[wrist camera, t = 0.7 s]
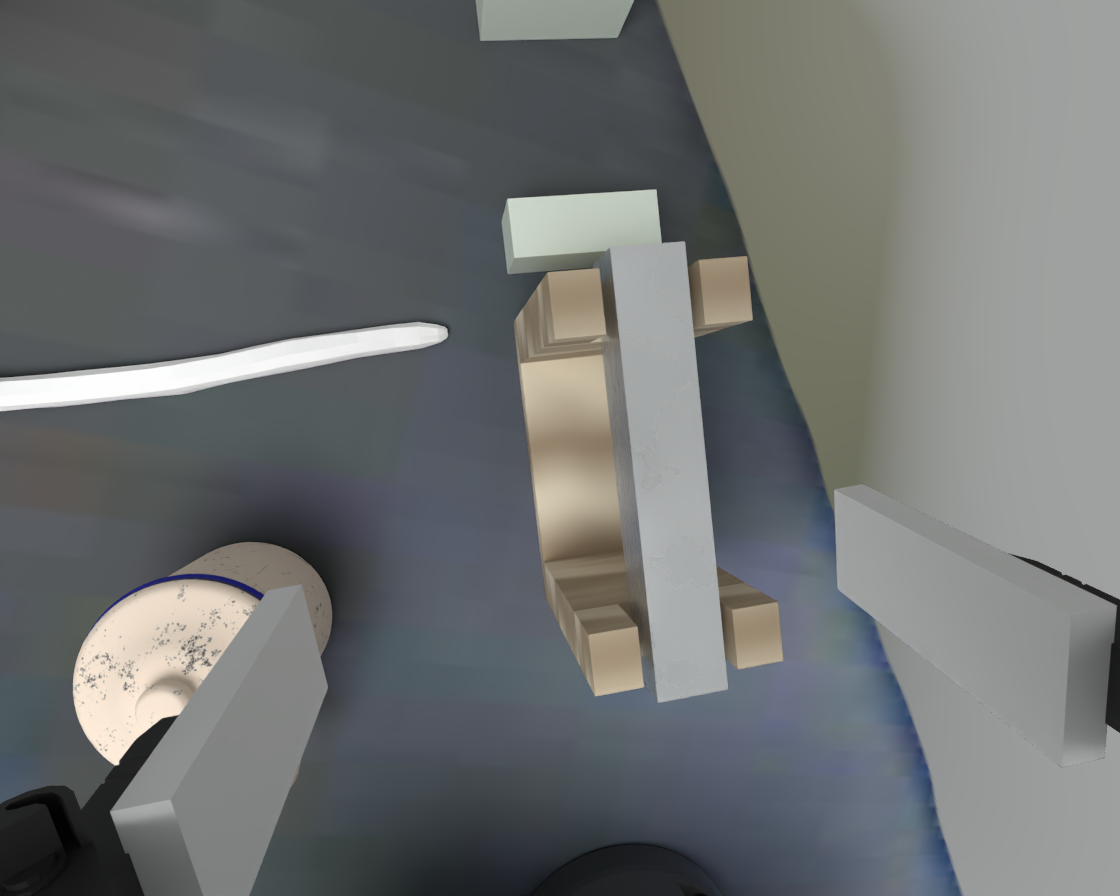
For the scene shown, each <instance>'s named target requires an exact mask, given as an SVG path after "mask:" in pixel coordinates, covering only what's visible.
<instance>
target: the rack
mask: <svg viewBox="0 0 1120 896" xmlns="http://www.w3.org/2000/svg"><path fill="white" fill-rule="evenodd" d="M687 268H688V278H689V289H690V299H691V309H692V320H693V330H694V338H695V337H699V336H702V335H705V334H708V333H712V332H715V331H718V330H722V329H725V328H728V327H731V326H735V325H738V324H741V323H744V322H748V321H751V320H753V318H752V306H751V295H750V284H749V273H748V262H747V256H743V257H730V258H718V259H706V260H698V261H697V262H695V263H693V264H692V265H690V266H688V267H687ZM513 324H514V333H515V341H516V350H517V358H518V367H519V375H520V384H521V392H522V401H523V409H524V418H525V426H526V435H527V443H528V452H529V461H530V469H531V478H532V486H533V495H534V503H535V512H536V520H537V529H538V537H539V546H540V554H541V563H542V571H543V580H544V588H545V597H546V600H547V602H548V604H549V606H550V608H551V610H552V612H553V614H554V616H555V618H556V620H557V622H558V624H559V626H560V628H561V630H562V632H563V634H564V636H565V638H566V640H567V642H568V644H569V646H570V648H571V650H572V652H573V653H574V655H575V657H576V659H577V661H578V663H579V665H580V667H581V669H582V671H583V673H584V675H585V677H586V679H587V681H588V683H589V685H590V687H591V689H592V691H593V693H594V695H595V696H601V695H606V694H611V693H617V692H622V691H627V690H632V689H638V688H643V687H644V683H643V673H642V664H641V655H640V645H639V636H638V627H637V625H636V624H635V623H634V622H633V621H632V619H631V616H630V607H629V598H628V588H627V579H626V570H625V560H624V551H623V542H622V532H621V523H620V514H619V505H618V495H617V486H616V477H615V467H614V458H613V449H612V439H611V430H610V421H609V411H608V402H607V393H606V383H605V374H604V365H603V355H602V346H601V337H602V336H604V335H606V326H605V317H604V308H603V298H602V289H601V280H600V270H599V268H595V269H582V270H570V271H558V272H547V274H546V275H545V277H544V278H543V280H542V281H541V282H540V284H539V285H538V287H537V288H536V290H535V291H534V293H533V294H532V296H531V297H530V298H529V300H528V301H527V303H526V304H525V306H524V307H523V309H522V310H521V312H520V313H519V315H518V316H517V317H516V319H515V320H514V322H513ZM716 569H717V579H718V589H719V600H720V610H721V620H722V631H723V641H724V652H725V658H726V659H727V660H728V661H729V662H730V663H731V664H732V665H734V666H735V667H736V668H737V669H743V668H748V667H753V666H758V665H764V664H769V663H774V662H779V661H783V653H782V642H781V630H780V619H779V608H778V602H777V601H776V600H774V599H772V598H770V597H769V596H767V595H765V594H763V593H762V592H760V591H758V590H757V589H755V588H753V587H751V586H750V585H748V584H746V583H745V582H743V581H741V580H739V579H738V578H736V577H734V576H733V575H731V574H729V573H727V572H726V571H724V570H722V569H721V568H719V567H717V566H716Z"/></svg>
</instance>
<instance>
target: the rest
mask: <svg viewBox="0 0 1120 896" xmlns="http://www.w3.org/2000/svg"><path fill="white" fill-rule="evenodd" d="M633 2H634V0H476V9H477V17H478V26H479V34H480V41H499V40H543V39H588V38H618V35H619V33H620V31H621V29H622V26H623V24H624V22H625V20H626V17H627V15H628V13H629V11H630V8H631V6H632V4H633ZM501 222H502V230H503V239H504V247H505V256H506V264H507V273H508V274H518V273H530V272H543V271H555V270H567V269H580V268H592V267H593V264H594V263H595V262H596V261H597V260H598V259H599V258H600V257H601V256H602V255H603V254H604V253H605V252H606V251H607V250H608V249H609V248H610V247H618V246H631V245H644V244H657V243H662V241H661V231H660V221H659V211H658V201H657V191H656V190H641V191H625V192H608V193H592V194H576V195H560V196H544V197H528V198H512V199H507V202H506V206H505V210H504V214H503V218H502V221H501Z"/></svg>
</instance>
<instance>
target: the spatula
mask: <svg viewBox="0 0 1120 896" xmlns="http://www.w3.org/2000/svg"><path fill="white" fill-rule="evenodd" d="M447 337H448V331H447V328H446V327H444V326H441V325H437V324H429V323H422V322H413V323H403V324H394V325H386V326H379V327H372V328H364V329H357V330H350V331H343V332H336V333H329V334H322V335H315V336H308V337H300V338H293V339H287V340H282V341H277V342H272V343H267V344H262V345H257V346H253V347H248V348H244V349H240V350H235V351H231V352H226V353H222V354H217V355H210V356H203V357H196V358H189V359H182V360H175V361H167V362H159V363H152V364H143V365H133V366H123V367H113V368H102V369H92V370H81V371H72V372H63V373H54V374H44V375H31V376H19V377H7V378H0V411H8V410H18V409H28V408H44V407H61V406H71V405H81V404H90V403H98V402H106V401H115V400H123V399H133V398H145V397H157V396H168V395H178V394H186V393H190V392H194V391H198V390H202V389H206V388H210V387H214V386H218V385H222V384H226V383H231V382H236V381H241V380H247V379H252V378H257V377H262V376H268V375H273V374H279V373H285V372H290V371H296V370H301V369H306V368H310V367H315V366H320V365H325V364H330V363H335V362H339V361H344V360H349V359H354V358H359V357H365V356H372V355H379V354H386V353H393V352H400V351H407V350H413V349H420V348H424V347H427V346H431V345H434V344H437V343H440V342H442V341H443V340H445V339H446V338H447Z"/></svg>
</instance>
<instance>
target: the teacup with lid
mask: <svg viewBox="0 0 1120 896" xmlns="http://www.w3.org/2000/svg"><path fill="white" fill-rule="evenodd" d="M301 584H302V587H303V591H304V595H305V599H306V603H307V607H308V611H309V615H310V619H311V623H312V627H313V630H314V634H315V638H316V642H317V646H318V650H319V654H320V657H321V655H322V653H323V651H324V649H325V647H326V645H327V642H328V639H329V636H330V632H331V626H332V606H331V601H330V597H329V594H328V591H327V589H326V586H325V584H324V582H323V581H322V579H321V577H320V576H319V575H318V573H317V572H316V571H315V570H314V568H313V567H312V566H311V565H310V564H309V563H308V562H306V561H305V560H304V559H303V558H301V557H300V556H298V555H297V554H295V553H293V552H291V551H289V550H287V549H285V548H282V547H280V546H276V545H273V544H268V543H260V542H243V543H236V544H231V545H227V546H224V547H221V548H218V549H216V550H213V551H211V552H209V553H207V554H206V555H204V556H202V557H200V558H199V559H197V560H195V561H194V562H192V563H190V564H188V565H187V566H185V567H183V568H181V569H180V570H178V571H176V572H175V573H173V574H171V575H169V576H168V577H165V578H161V579H157V580H154V581H152V582H149V583H146V584H144V585H142V586H140V587H138V588H136V589H134V590H132V591H130V592H129V593H127V594H126V595H124V596H123V597H121V598H120V599H119V600H117V601H116V602H115V603H113V604H112V605H111V606H110V607H109V608H108V609H107V610H106V611H105V612H104V613H103V614H102V615H101V616H100V617H99V619H98V620H97V621H96V623H95V624H94V625H93V627H92V628H91V630H90V632H89V633H88V635H87V637H86V639H85V641H84V643H83V645H82V647H81V650H80V652H79V655H78V658H77V661H76V665H75V670H74V677H73V696H74V704H75V708H76V713H77V716H78V719H79V721H80V724H81V726H82V728H83V730H84V732H85V734H86V735H87V737H88V739H89V740H90V742H91V743H92V744H93V745H94V747H95V748H96V749H97V750H98V751H99V752H100V753H101V754H102V755H103V756H104V757H105V758H106V759H107V760H109V761H110V762H111V763H112V764H114V765H115V766H116V765H119V760H120V759H121V758H122V757H123V755H124V754H125V753H126V751H127V750H128V749H129V747H130V746H131V745H132V744H133V742H134V741H135V740H136V739H137V738H138V737H139V736H141V735H142V734H143V733H144V732H146V731H147V730H148V729H149V728H151V727H152V726H153V725H154V724H156V723H157V722H158V721H159V720H161V719H162V718H166V717H171V716H176V715H179V714H180V713H181V711H182V710H183V709H184V707H185V706H186V704H187V703H188V702H189V700H190V699H191V697H192V696H193V695H194V693H195V692H196V690H197V689H198V688H199V686H200V685H201V683H202V682H203V681H204V679H205V678H206V676H207V675H208V674H209V672H210V671H211V669H212V668H213V667H214V665H215V664H216V662H217V661H218V660H219V658H220V657H221V655H222V654H223V653H224V651H225V650H226V648H227V647H228V646H229V644H230V643H231V641H232V640H233V639H234V637H235V636H236V634H237V633H238V632H239V630H240V629H241V627H242V626H243V625H244V623H245V622H246V620H247V619H248V618H249V616H250V615H251V613H252V612H253V611H254V609H255V608H256V606H257V605H258V604H259V602H260V601H261V599H262V598H263V597H264V595H265V594H266V592H267V591H268V590H273V589H278V588H284V587H289V586H295V585H301ZM300 762H301V760H300ZM299 769H300V763H299V766H298V768H297V771H296V774H295V776H294V779H293V781H292V784H291V786H292V785H293V783H294V782H295V780H296V778H297V776H298V773H299Z"/></svg>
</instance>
